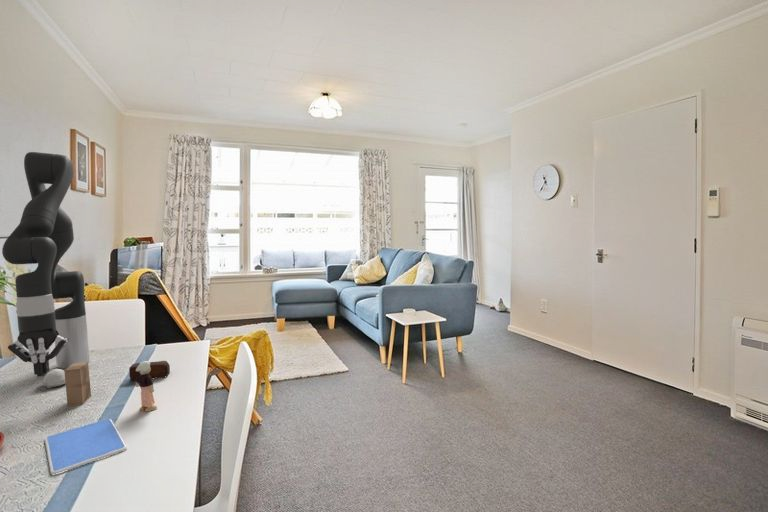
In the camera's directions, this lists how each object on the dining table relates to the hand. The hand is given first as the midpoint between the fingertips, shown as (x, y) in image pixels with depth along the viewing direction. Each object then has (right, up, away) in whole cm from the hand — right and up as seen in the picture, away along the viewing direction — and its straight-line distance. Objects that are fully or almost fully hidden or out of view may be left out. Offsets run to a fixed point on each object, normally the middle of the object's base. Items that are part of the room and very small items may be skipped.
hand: (42, 375), depth 105 cm
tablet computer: (+26, -10, -19) cm, 34 cm away
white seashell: (-9, -8, +16) cm, 20 cm away
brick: (+17, -7, +20) cm, 27 cm away
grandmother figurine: (+30, -8, -2) cm, 31 cm away
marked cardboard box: (+8, -8, +3) cm, 12 cm away
